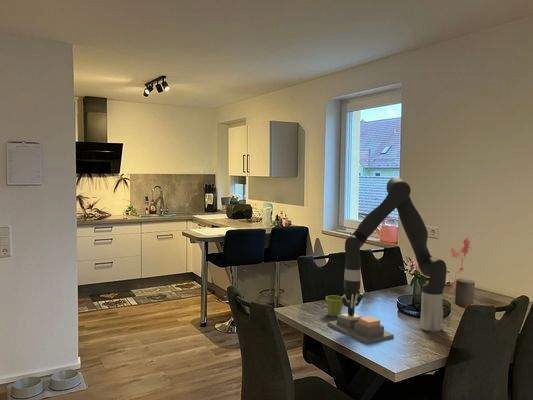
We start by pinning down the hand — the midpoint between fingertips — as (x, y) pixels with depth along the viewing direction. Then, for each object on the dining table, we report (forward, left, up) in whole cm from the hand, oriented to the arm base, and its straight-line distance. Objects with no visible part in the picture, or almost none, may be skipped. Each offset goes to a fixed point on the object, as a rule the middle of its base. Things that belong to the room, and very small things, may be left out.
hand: (350, 315), depth 207 cm
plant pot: (-5, -18, -6) cm, 20 cm away
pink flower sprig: (-106, -17, -6) cm, 108 cm away
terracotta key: (0, +12, -1) cm, 12 cm away
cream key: (0, 0, -3) cm, 3 cm away
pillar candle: (-84, -1, -6) cm, 84 cm away
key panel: (0, +6, -6) cm, 8 cm away
